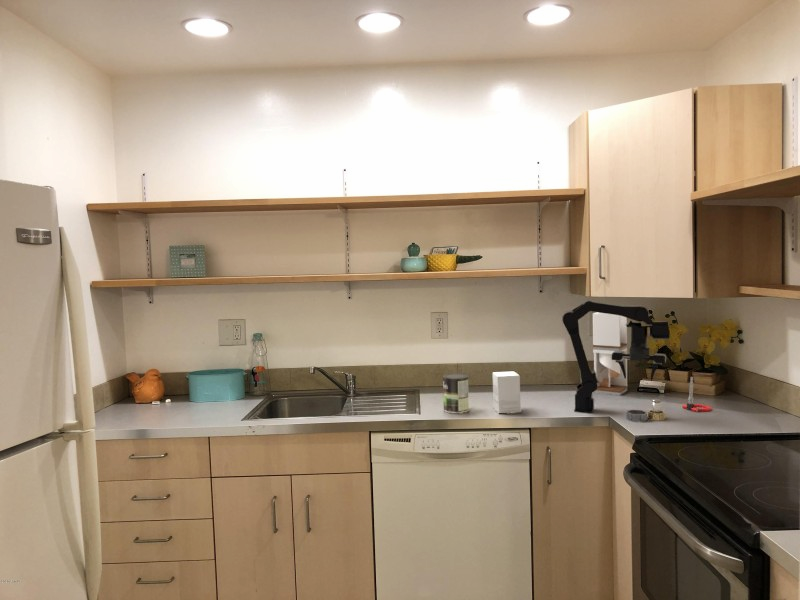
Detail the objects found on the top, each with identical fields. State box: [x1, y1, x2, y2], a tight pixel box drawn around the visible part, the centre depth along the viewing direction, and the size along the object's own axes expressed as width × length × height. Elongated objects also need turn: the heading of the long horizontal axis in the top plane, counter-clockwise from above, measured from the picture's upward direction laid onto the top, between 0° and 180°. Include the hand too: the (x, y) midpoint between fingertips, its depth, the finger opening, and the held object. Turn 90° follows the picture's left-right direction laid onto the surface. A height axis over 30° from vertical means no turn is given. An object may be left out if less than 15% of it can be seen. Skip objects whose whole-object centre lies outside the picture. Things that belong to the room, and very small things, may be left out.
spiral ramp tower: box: [592, 312, 628, 396], centre depth 253 cm, size 11×11×35 cm
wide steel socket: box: [625, 409, 648, 422], centre depth 211 cm, size 7×7×2 cm
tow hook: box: [682, 376, 712, 413], centre depth 221 cm, size 8×13×9 cm
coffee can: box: [442, 372, 470, 414], centre depth 231 cm, size 10×10×14 cm
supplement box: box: [492, 370, 522, 414], centre depth 228 cm, size 9×9×15 cm
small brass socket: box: [647, 409, 666, 421], centre depth 210 cm, size 6×6×2 cm
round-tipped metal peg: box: [651, 398, 662, 413], centre depth 210 cm, size 3×3×7 cm
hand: (638, 379), depth 219 cm, fingers open, 9 cm apart
